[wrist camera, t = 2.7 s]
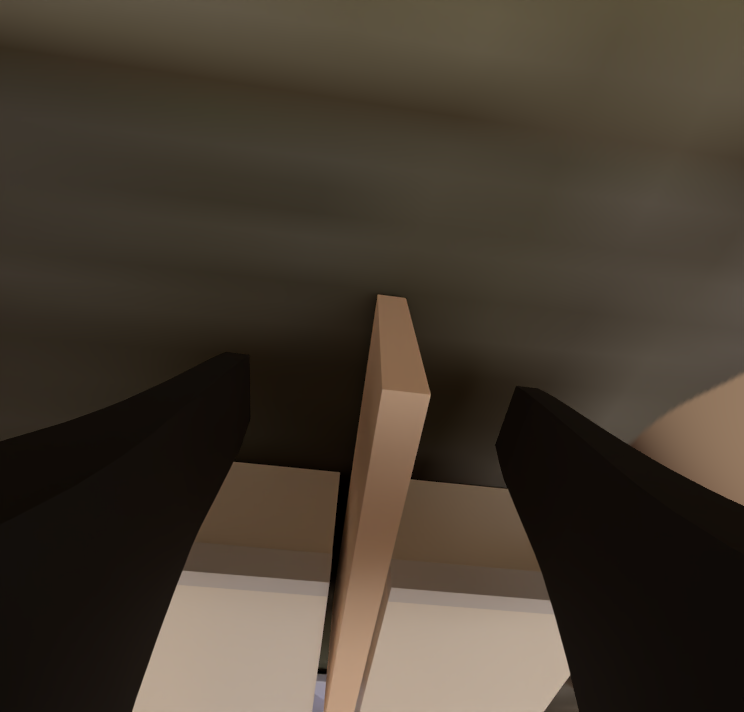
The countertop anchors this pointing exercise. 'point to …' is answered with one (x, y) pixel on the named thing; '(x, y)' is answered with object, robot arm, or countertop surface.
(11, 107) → the countertop surface
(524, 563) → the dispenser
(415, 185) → the countertop surface
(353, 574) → the thin wooden plank
